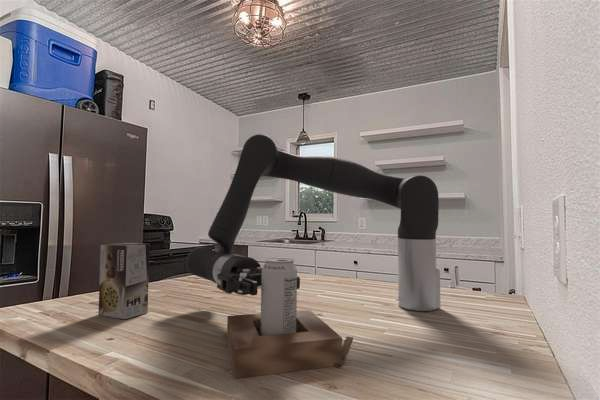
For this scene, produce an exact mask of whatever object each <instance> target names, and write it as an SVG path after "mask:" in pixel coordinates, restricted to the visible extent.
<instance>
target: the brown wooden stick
mask: <svg viewBox="0 0 600 400" xmlns="http://www.w3.org/2000/svg"><path fill="white" fill-rule="evenodd" d="M353 338H354V337H353V336H346V337H345V340H344V341H343V342H342V362H338V363H334V364H333V366H332V367H333V368H339V369H342V368H343V366H344V362H345V360H346V358H347V357H346V356H347V354H348V352H349V349H350V346H351V344H352V341H353Z"/></svg>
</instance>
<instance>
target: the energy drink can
mask: <svg viewBox="0 0 600 400" xmlns="http://www.w3.org/2000/svg"><path fill="white" fill-rule="evenodd" d="M262 267H263V268H262V277H261V289H260V295H261V297H260V314H261V327H260V336H266V335H277V334H288V333H296V311H297V310H298V309H297V305H298V303H297V300H298V299H297V298H298V297H297V296H298V289H297V276H298V269H297V266H296V265H295V264H294V258H293V259H292V258H288V257H269V258H266V259H265V262H264V265H263V266H262Z"/></svg>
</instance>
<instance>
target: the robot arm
mask: <svg viewBox="0 0 600 400" xmlns="http://www.w3.org/2000/svg"><path fill="white" fill-rule="evenodd" d="M262 176H263V177H270V178H277V179H284V180H289V181H293V182H296V183H300V184H303V185H306V186H310V187H312V188H317V189H321V190H323V191H327V192H331V193H335V194H339V195H345V196H348V197H355V198H361V199H368V200H373V201H377V202H380V203H384V204H386V205H390V206H392V207H394V208H397V209H400V222H399V225H398V228H397V266H398V267H397V273H398V274H397V277H398V279H397V281H398V282H397V283H398V286H397V287H398V288H397V289H398V294H397V295H398V298H397V299H398V306H399V307H401V308H403V309H405V310H410V311H418V312H429V311H430V312H432V311H436V310H437V309H441V270H440V269H439V268H437V229H438V227H439V214H440V213H439V209H440V208H439V207H440V206H439V203H440V202H439V191H438V187H437V185H436V183H435V181H434V180H433V179H431V178H430V177H428V176H425V175H419V174H418V175H413V176H410V177H408V178H406V177H405V178H403V177H396V176H392V175H391V176H390V175H386V174H382V173H379V172H376V171H374V170H373V169H370V168H368V167H366V166H364V165H362V164H360V163H357V162H355V161H351V160H347V159H344V158H341V157H336V156H330V155H296V154H293V153H289V152H286V151H283V150H280V149H279V148H278V149H277V145H276V143H275V142H274V140H273V139H272V137H270V136H268V135H267V134H262V133H261V134H259V133H258V134H254V135H252V136H250V137H249V138H248V139H246V141H245V142H244V144H243V146H242V151H241V152H240V157H239V159H238V164H237V167H236V169H235V172H234V175H233V177H232V180H231V184H230V186H229V188H228V189H227V190H228V191H227V192H226V195H225V197H224V199H223V201H222V204H221V206H220V207H219V209H218V212H217V213H216V216H215V217H214V219H213V221H212V224H211V226H210V228H209V229H208V234H207V235H208V238H210V239H211V240H212V241H213V242H215V243H216V244H217V245H218V251H216V250H213V249H211V248H208V247H205V246H197V247H194V248H193V249H192V250H191V251H190V252H189V253H188V254H187V257H186V259H185V268H186V270H187V272H188V273H189V274H191V275H194V276H197V277H200V278H202V279H205V280H207V281H211V282H212V283H214V284H216V288H217V289H219V290H221V291H222V292H224V293H226V294H227V295H228V294H232V293H235V294H237V295H240V296H246V295H250V296H257V295H258V289H259V290H261V277H262V268H263V266H261V264H260V263H259V262H258V261H257V260H256V259H255V258H253V257H251V256H250V257H249V256H245V255H241V254H237V253H236V254H235V253H233V250H234V246H235V241H236V240H237V237H238V235H239V233H240V230H241V228H242V227H243V225H244V222H245V220H246V217H247V214H248V211H249V208H250V204H251V201H252V197H253V194H254V192H255V188H256V187H257V184H258V183H259V180H260V178H261V177H262ZM300 288H301V278H300V276H298V275H297V290H300Z"/></svg>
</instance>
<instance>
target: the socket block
mask: <svg viewBox="0 0 600 400" xmlns="http://www.w3.org/2000/svg"><path fill="white" fill-rule="evenodd" d="M226 323H227V327H226V329H227V330H226V339H227V345H228V350H229V356H230V361H231V367H232V372H233V379H243V378H249V377H257V376H267V375H273V374H282V373H291V372H298V371H305V370H307V371H308V370H314V369H320V368H321V369H322V368H323V369H324V368H329V367H330V368H331V367H333V364H334V363H338V362H342V346H343V337H342V336H341V335H340V334H338V333H337V332H336V331H335V330H334V329H333V328H331V327H330V326H329V325H328V324H327V323H326V322H325V321H324V320H322V319H321V318H319V317H318V315H316V314H315V312H313V311H312V310H311V309H306V310H305V309H304V310H303V309H302V310H296V333H288V334H277V335H266V336H260V327H261V313H249V314H237V315H227V322H226Z"/></svg>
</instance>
